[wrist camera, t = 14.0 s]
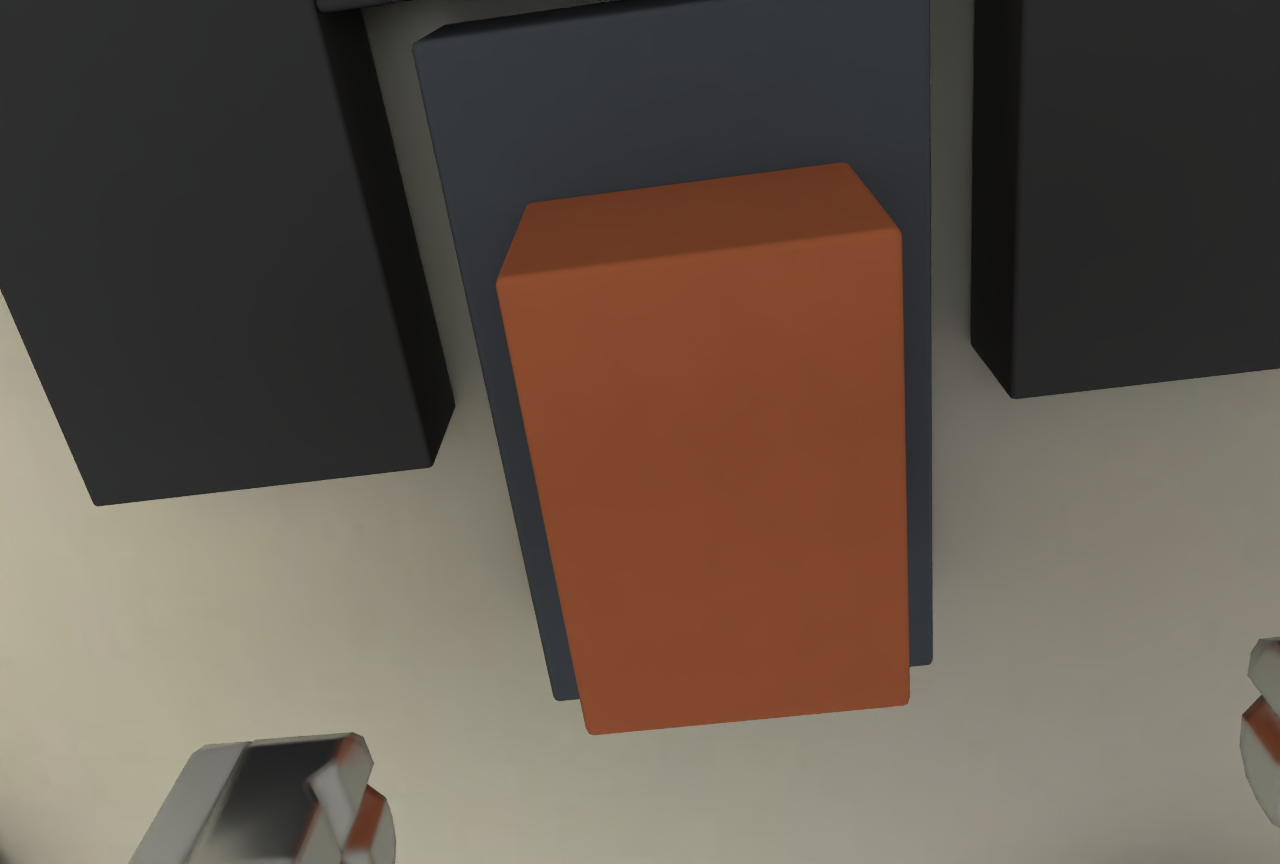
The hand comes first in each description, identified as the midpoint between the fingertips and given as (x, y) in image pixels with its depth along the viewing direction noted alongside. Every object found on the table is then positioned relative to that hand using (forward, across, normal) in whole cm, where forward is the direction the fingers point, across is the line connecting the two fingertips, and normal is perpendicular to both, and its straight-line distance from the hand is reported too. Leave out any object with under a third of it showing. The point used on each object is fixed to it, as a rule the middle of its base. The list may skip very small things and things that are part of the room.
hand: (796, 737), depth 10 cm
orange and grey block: (+7, 0, -1) cm, 7 cm away
